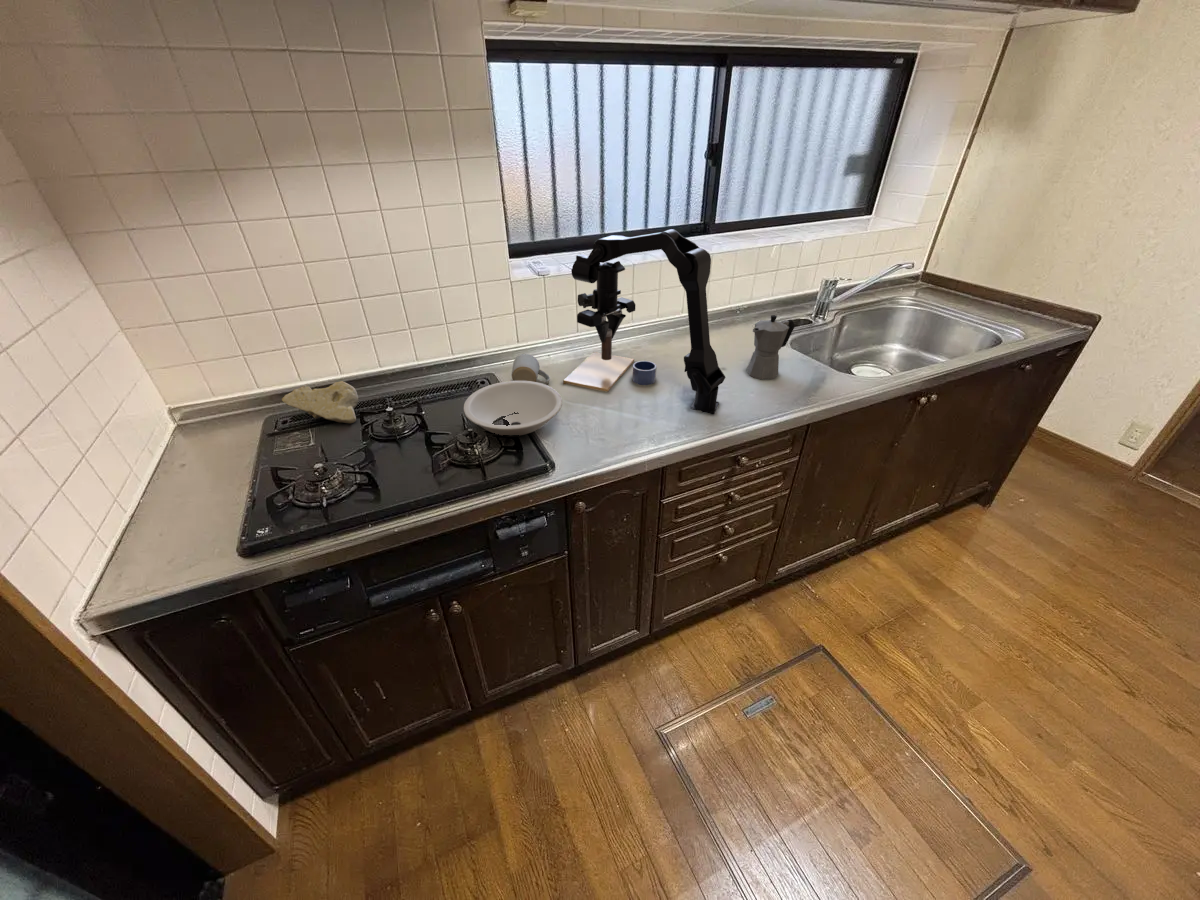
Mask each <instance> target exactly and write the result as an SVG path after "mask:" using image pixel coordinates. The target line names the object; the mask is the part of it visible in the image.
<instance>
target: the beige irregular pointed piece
mask: <svg viewBox="0 0 1200 900" xmlns="http://www.w3.org/2000/svg"><path fill="white" fill-rule="evenodd" d="M308 385H309V383H306V384H304V385H302V386H300V387H299V388H293V390H292V391H291V392H289V393H287V394H285V395H284V396H283V397H281V401H282V402H283V403H284V404H285V405H288V406H289V407H292V408H295V409H298V410H300V411H303V412H305V413H308V415H309V416H312V417H313V419H319V418H323V419H325V420H328V421H333V422H336V423H345V424H354V423H356V422H357V416H356V413H355V408H356V407H357V406H358V403H359V395H358V392H357V389H356V388H355V387H354V386H352V385H351V384H349V383H347V382H345V381H342V380H341V381H336V382H333V383H332V384H330V385H329V386H327V387H323V388H313V389H312V388H311V387H310V386H308Z"/></svg>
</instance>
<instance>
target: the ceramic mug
mask: <svg viewBox="0 0 1200 900" xmlns="http://www.w3.org/2000/svg"><path fill="white" fill-rule="evenodd" d="M540 366H541V365H540V362H539V360H538V359H537V358H536V357H535V356H534V355H532V354H530V353H520V354H519V355H517V356H516V357H515V358H514V360H513V363H512V368H511V369H512V370H511V379H512V380H511V381H532V382H538V383H542V384H545V385H547V386H548V384H549V383H550V380H551V377H550V375H549V374H548V373H546V372H545V371H543V370H542V369H540ZM538 376H541V377H542V378H544V379H545V380H541V379H539V378H538Z"/></svg>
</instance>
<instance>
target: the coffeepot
mask: <svg viewBox="0 0 1200 900" xmlns="http://www.w3.org/2000/svg"><path fill="white" fill-rule="evenodd" d="M777 317H778V316H777V315H775V314H772V315H770V319H761V320H758V321H757V322H756V323H754V327H753V328H752V332H753V334H754V338H753V339H754V341H753V345H754V351H753V352H752V354H751V357H750V359H749V362H748V365H747V368H746V372H747V374H748V375H749V376H750V377H751V378H754V379H757V380H767V381H768V380H773V379H775V378H776V377H777V376H778V375H779V362H780V360H779V359H780V355H779V352H780V350H781V349H782V348H784V347H786V345H787V343H788V342H789V339H790V337H791V336H792V333H793V331H794V329H795V327H796V324H795V323H794V320H793V319H787V320H786V319H785V320H781V321H778V320H777Z"/></svg>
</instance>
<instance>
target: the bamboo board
mask: <svg viewBox="0 0 1200 900" xmlns="http://www.w3.org/2000/svg"><path fill="white" fill-rule="evenodd" d="M634 363H635V358H632V357H626V356H625V357H624V356H620V355H615V354H614V355H613V354H612V358H611V359H610V360H603V359H602V358H601V352H596V351H593V352H592V353H590V355H588V357H586V358H585V359H584V360H583V361H582V362H581V363H580V364H579V365H577V367H576V368H575V369H573V371H572V372H570V373H569V374H568V375H567V376H566V377H565V378H564V379H563V380H562V383H563V385H566V384H567V385H573V386H578V387H583V388H588V389H592V390H597V391H603V392H606V393H607V392H609V391H610V390H611V389H612V387H614V385H615V384H616V383H617V382H618V381H619V380H620V378H621V377H622V376H623V375H624V374H625V372H626V371H627V370H628V369H629V368H630V367H631V365H633V364H634Z"/></svg>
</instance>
